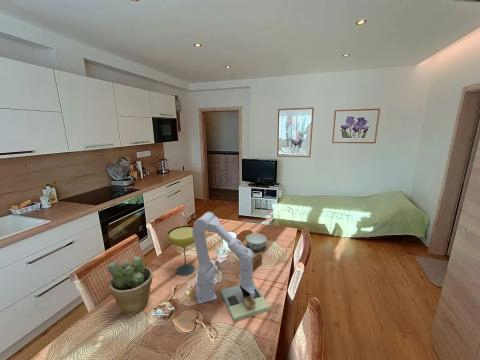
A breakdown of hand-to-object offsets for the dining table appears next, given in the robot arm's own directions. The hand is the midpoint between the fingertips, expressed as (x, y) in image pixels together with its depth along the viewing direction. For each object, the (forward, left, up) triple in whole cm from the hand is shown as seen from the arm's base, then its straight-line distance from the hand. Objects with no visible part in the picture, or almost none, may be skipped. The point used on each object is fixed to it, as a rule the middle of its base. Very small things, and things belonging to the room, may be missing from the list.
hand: (246, 299), depth 106 cm
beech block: (0, -3, -1) cm, 4 cm away
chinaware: (+28, +46, -3) cm, 54 cm away
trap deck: (0, +3, -3) cm, 4 cm away
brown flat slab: (+16, +25, -3) cm, 30 cm away
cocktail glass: (-23, +39, -3) cm, 45 cm away
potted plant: (-50, +20, -3) cm, 54 cm away
